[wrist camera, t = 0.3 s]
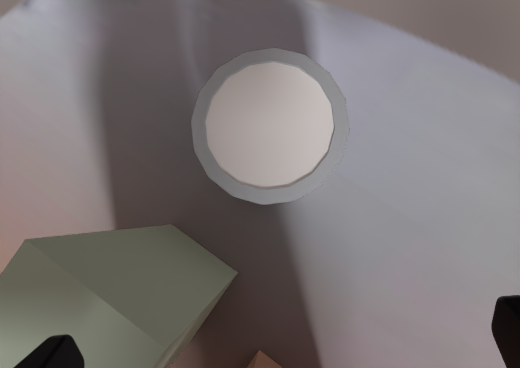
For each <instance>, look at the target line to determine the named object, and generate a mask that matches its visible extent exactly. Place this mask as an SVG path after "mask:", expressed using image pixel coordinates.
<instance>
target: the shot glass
mask: <svg viewBox="0 0 520 368" xmlns="http://www.w3.org/2000/svg"><path fill="white" fill-rule="evenodd" d="M191 127H192V137H193V146H194V152H195V153H196V155H197V157H198V159H199V161H200V163H201V164H202V166H203V168H204V170H205V172H206V174H207V176H208V177H209V178H210V179H211V180H212V181H214V182H215V183H216V184H218V185H219V186H220V187H221V188H223V189H224V190H225V191H226V192H228V193H229V194H230V195H231V196H233V197H236V198H240V199H243V200H247V201H250V202H254V203H258V204H261V205H266V204H274V203H283V202H291V201H295V200H297V199H299V198H300V197H302V196H304V195H306V194H308V193H309V192H311V191H313V190H315V189H316V188H318V187H320V186H322V185H323V183H324V182H325V181H326V179H327V178H328V177H329V176H330V174H331V173H332V172H333V171H334V169H335V168H336V167H337V165H338V164H339V163H340V162H341V160H342V157H343V153H344V149H345V146H346V142H347V138H348V135H349V131H350V128H349V121H348V113H347V106H346V99H345V97H344V96H343V94H342V92H341V91H340V89H339V87H338V86H337V84H336V82H335V81H334V79H333V77H332V76H331V74H330V73H329V72H328V71H327V70H325V69H324V68H323V67H321V66H320V65H318V64H317V63H316V62H314V61H313V60H311V59H310V58H309V57H307V56H306V55H304V54H300V53H296V52H292V51H287V50H283V49H279V48H269V49H262V50H255V51H249V52H244V53H242V54H241V55H239V56H237V57H235V58H234V59H232V60H230V61H229V62H227V63H225V64H223V65H222V66H220V67H218V68H217V70H216V71H215V72H214V74H213V75H212V76H211V77H210V79H209V80H208V81H207V82H206V84H205V85H204V86H203V88H202V89H201V90H200V91H199V94H198V98H197V101H196V105H195V108H194V112H193V115H192V118H191Z"/></svg>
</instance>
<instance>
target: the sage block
mask: <svg viewBox="0 0 520 368" xmlns="http://www.w3.org/2000/svg"><path fill="white" fill-rule="evenodd" d="M237 274H238V272H236V271H235V270H234V269H232V268H231V267H229V266H228V265H227V264H225V263H224V262H223V261H221V260H220V259H219V258H217V257H216V256H214V255H213V254H212V253H210V252H209V251H208V250H206V249H205V248H204V247H202V246H201V245H199V244H198V243H197V242H195V241H194V240H193V239H191V238H190V237H189V236H187V235H186V234H185V233H183V232H182V231H180V230H179V229H178V228H176V227H175V226H174V225H172V224H169V225H160V226H150V227H140V228H131V229H121V230H111V231H101V232H92V233H82V234H72V235H63V236H53V237H43V238H33V239H25V241H24V242H23V243H22V245H21V246H20V248H19V249H18V251H17V252H16V253H15V255H14V256H13V258H12V259H11V261H10V262H9V263H8V265H7V266H6V268H5V269H4V271H3V272H2V273H1V275H0V368H13V367H15V366H16V365H17V364H18V363H19V362H20V361H22V360H23V359H24V358H25V357H26V356H27V355H28V354H30V353H31V352H32V351H33V350H34V349H35V348H37V347H38V346H39V345H40V344H41V343H42V342H44V341H45V340H46V339H47V338H49V337H50V336H53V335H64V334H69V335H70V336H72V337H73V339H74V341H75V342H76V344H77V346H78V348H79V350H80V352H81V354H82V355H83V358H84V363H85V366H84V368H169V367H170V366H171V364H172V363H173V362H174V361H175V360H176V358H177V357H178V356H179V355H180V353H181V352H182V351H183V350H184V348H185V347H186V346H187V345H188V344H189V342H190V341H191V340H192V338H193V337H194V335H195V334H196V332H197V331H198V330H199V328H200V327H201V325H202V324H203V322H204V321H205V319H206V318H207V317H208V315H209V314H210V312H211V311H212V309H213V308H214V307H215V305H216V304H217V302H218V301H219V299H220V298H221V297H222V295H223V294H224V292H225V291H226V289H227V288H228V286H229V285H230V284H231V282H232V281H233V279H234V278H235V276H236V275H237Z"/></svg>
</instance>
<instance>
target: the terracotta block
mask: <svg viewBox="0 0 520 368" xmlns="http://www.w3.org/2000/svg"><path fill="white" fill-rule="evenodd" d="M247 368H283V367H281V366H280V365H279V364H277V363H276V362H275V361H273V360H272V359H271V358H269V357H268V356H267V355H265V354H264V353H263V352H261V351H260V350H259V351H258V352H257V353H256V355H255V356H254V358H253V359H252V361H251V362H250V364H249V365H248V366H247Z"/></svg>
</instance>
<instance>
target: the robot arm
mask: <svg viewBox="0 0 520 368" xmlns="http://www.w3.org/2000/svg"><path fill="white" fill-rule="evenodd" d="M492 333H493V336H494V339H495V341H496V344H497V346H498V348H499V351H500V353H501V355H502V358H503V360H504V362H505V365H506V367H507V368H520V295H512V296H501V297H499V298H498V299H497V301H496V305H495V310H494V315H493V320H492ZM84 366H85V363H84V358H83V355H82V354H81V352H80V350H79V348H78V346H77V344H76V342H75V341H74V339H73V337H72V336H70V335H69V334H64V335H53V336H50V337H49V338H47V339H46V340H45V341H44V342H42V343H41V344H40V345H39V346H38V347H37V348H35V349H34V350H33V351H32V352H31V353H30V354H28V355H27V356H26V357H25V358H24V359H23V360H22V361H20V362H19V363H18V364H17V365H16V366H15V367H13V368H84Z"/></svg>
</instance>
